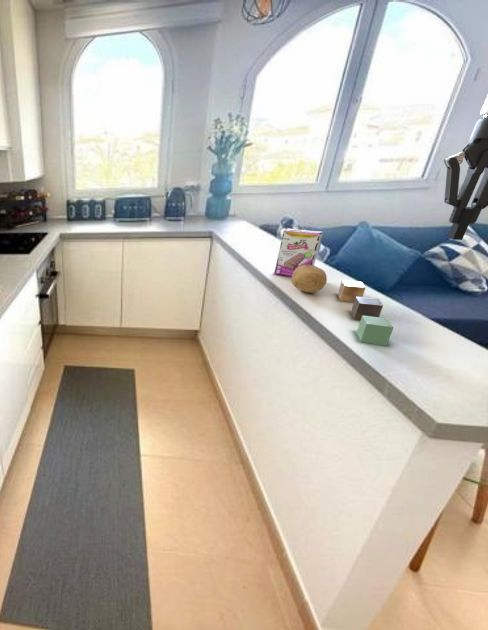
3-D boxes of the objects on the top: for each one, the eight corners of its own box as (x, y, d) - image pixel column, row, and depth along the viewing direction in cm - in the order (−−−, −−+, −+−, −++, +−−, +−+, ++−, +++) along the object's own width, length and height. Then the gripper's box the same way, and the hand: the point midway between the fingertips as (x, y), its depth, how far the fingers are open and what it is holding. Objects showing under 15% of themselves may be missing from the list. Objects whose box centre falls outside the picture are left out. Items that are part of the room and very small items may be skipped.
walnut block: (372, 314, 96) (378, 298, 94) (376, 322, 93) (383, 305, 90) (350, 312, 99) (355, 296, 96) (353, 319, 95) (359, 303, 92)
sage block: (381, 335, 87) (387, 318, 84) (386, 345, 83) (393, 327, 80) (356, 332, 89) (362, 315, 87) (360, 341, 85) (366, 324, 83)
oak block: (357, 296, 107) (362, 281, 105) (360, 303, 103) (365, 287, 101) (337, 294, 109) (341, 280, 107) (340, 300, 105) (344, 285, 103)
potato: (317, 283, 119) (323, 261, 115) (329, 299, 107) (336, 275, 103) (284, 281, 122) (289, 260, 118) (292, 297, 110) (298, 273, 107)
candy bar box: (273, 274, 129) (282, 230, 121) (277, 270, 132) (286, 227, 124) (308, 280, 121) (320, 234, 114) (311, 276, 125) (323, 231, 117)
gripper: (469, 118, 65) (421, 240, 75) (574, 110, 59) (506, 244, 70) (452, 119, 71) (410, 233, 81) (546, 112, 65) (487, 235, 76)
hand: (454, 238), depth 76 cm, fingers closed
